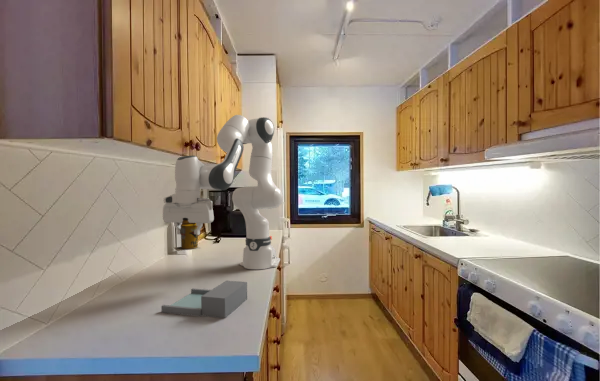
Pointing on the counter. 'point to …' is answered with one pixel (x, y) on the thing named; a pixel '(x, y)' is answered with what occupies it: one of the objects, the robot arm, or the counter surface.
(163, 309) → the teal-floored tray
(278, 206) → the robot arm
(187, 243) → the condiment
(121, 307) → the counter surface
